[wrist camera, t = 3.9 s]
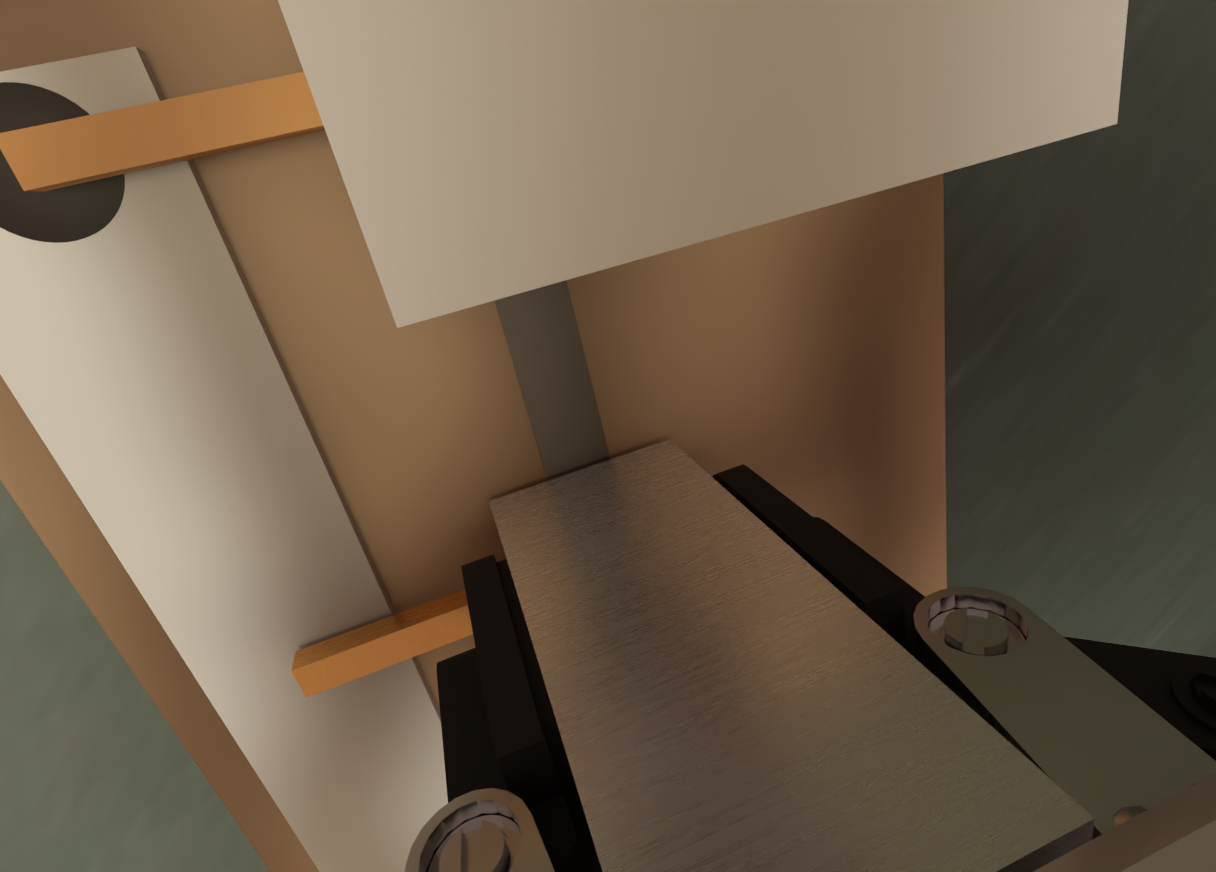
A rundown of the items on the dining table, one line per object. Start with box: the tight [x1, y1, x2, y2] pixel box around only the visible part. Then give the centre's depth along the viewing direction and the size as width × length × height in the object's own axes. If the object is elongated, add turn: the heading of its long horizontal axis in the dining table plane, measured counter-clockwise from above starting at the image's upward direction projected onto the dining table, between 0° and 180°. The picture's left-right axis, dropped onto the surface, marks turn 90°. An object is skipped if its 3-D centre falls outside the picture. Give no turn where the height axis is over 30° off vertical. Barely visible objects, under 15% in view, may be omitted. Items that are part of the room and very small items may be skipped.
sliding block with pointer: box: [291, 439, 1095, 872], centre depth 8 cm, size 7×3×8 cm, turn 103°
